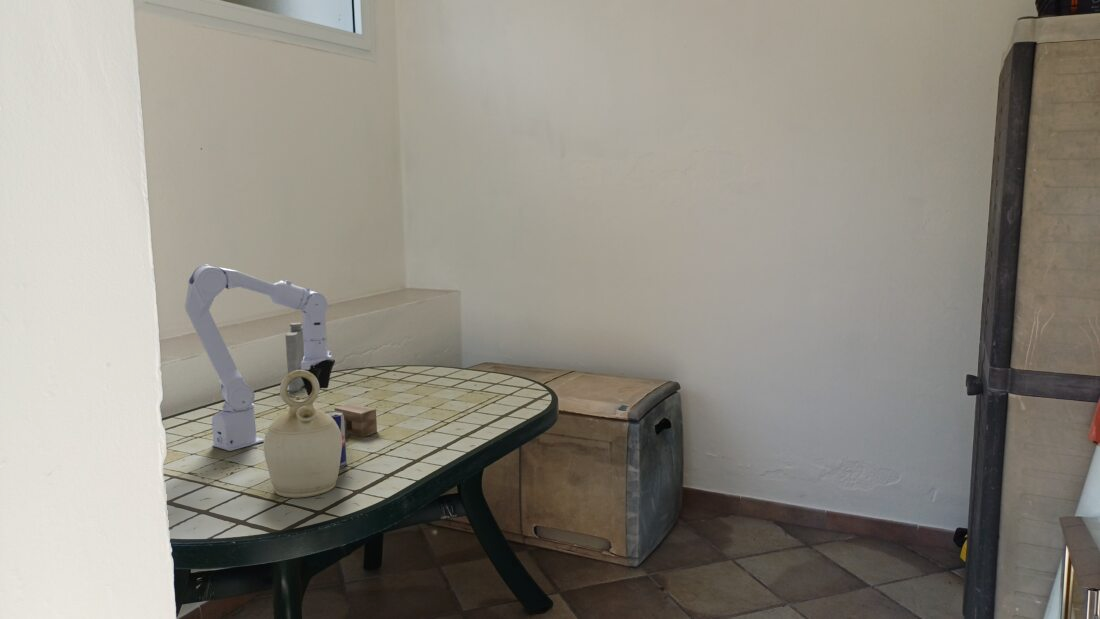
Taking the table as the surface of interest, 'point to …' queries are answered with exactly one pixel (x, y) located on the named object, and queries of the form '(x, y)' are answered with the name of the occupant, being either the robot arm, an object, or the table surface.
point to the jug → (302, 445)
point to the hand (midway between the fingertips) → (318, 391)
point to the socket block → (359, 419)
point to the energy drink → (340, 422)
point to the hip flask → (295, 353)
